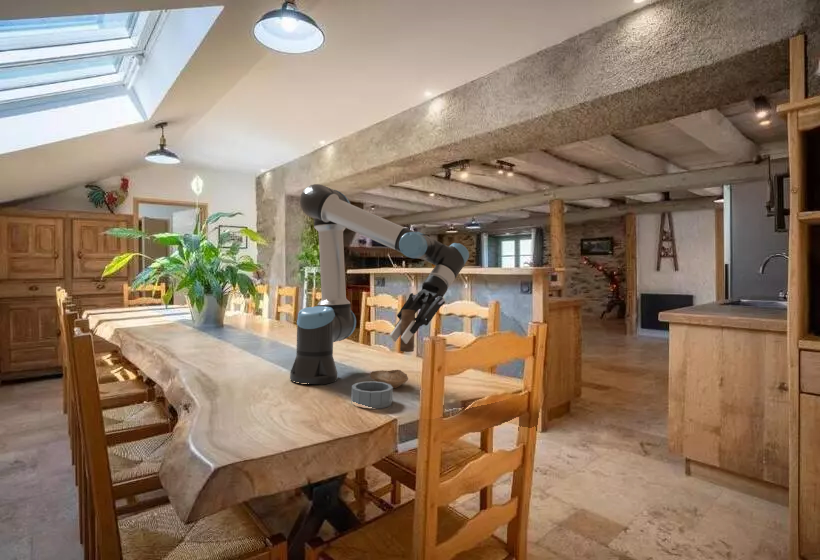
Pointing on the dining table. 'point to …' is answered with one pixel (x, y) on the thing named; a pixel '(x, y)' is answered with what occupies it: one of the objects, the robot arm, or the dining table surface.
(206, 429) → the dining table surface
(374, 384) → the grey plastic ring
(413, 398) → the dining table surface
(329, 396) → the dining table surface
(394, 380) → the pottery oil lamp
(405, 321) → the brown cylinder
